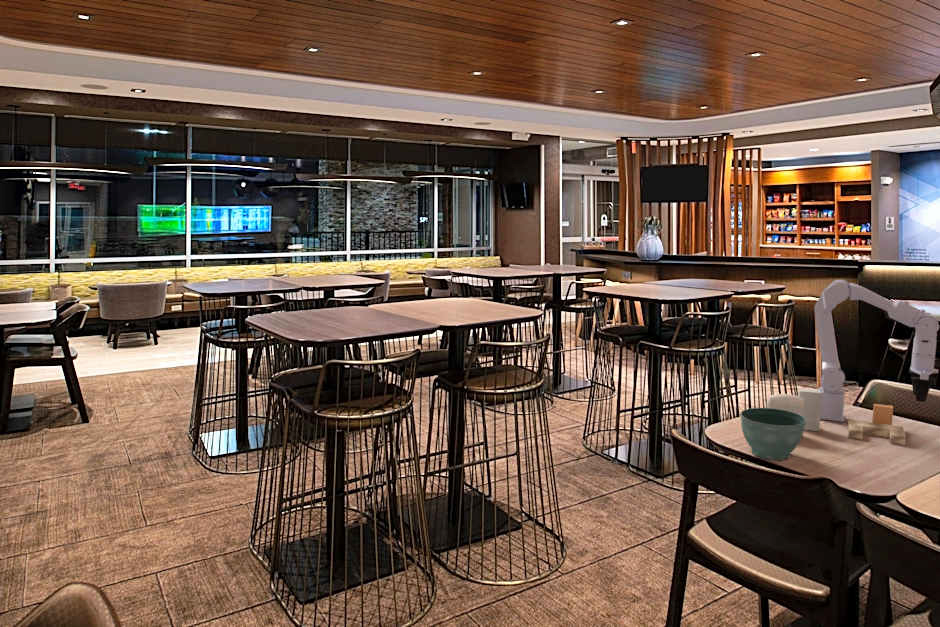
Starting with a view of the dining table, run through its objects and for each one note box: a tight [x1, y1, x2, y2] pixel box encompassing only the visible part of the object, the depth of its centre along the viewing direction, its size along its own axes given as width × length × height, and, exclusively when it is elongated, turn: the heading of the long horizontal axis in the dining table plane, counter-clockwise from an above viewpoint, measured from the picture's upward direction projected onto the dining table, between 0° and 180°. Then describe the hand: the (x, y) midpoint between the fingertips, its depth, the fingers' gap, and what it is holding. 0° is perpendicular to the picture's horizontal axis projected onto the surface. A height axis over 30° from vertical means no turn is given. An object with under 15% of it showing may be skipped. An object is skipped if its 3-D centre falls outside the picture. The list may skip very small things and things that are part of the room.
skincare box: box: [797, 388, 822, 432], centre depth 210 cm, size 6×4×12 cm
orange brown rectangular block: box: [871, 403, 894, 425], centre depth 211 cm, size 5×3×7 cm, turn 62°
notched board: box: [847, 419, 907, 446], centre depth 203 cm, size 14×11×2 cm
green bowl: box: [740, 407, 806, 461], centre depth 187 cm, size 16×16×11 cm
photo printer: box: [766, 393, 805, 417], centre depth 204 cm, size 10×4×12 cm, turn 73°
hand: (919, 398), depth 208 cm, fingers open, 7 cm apart
